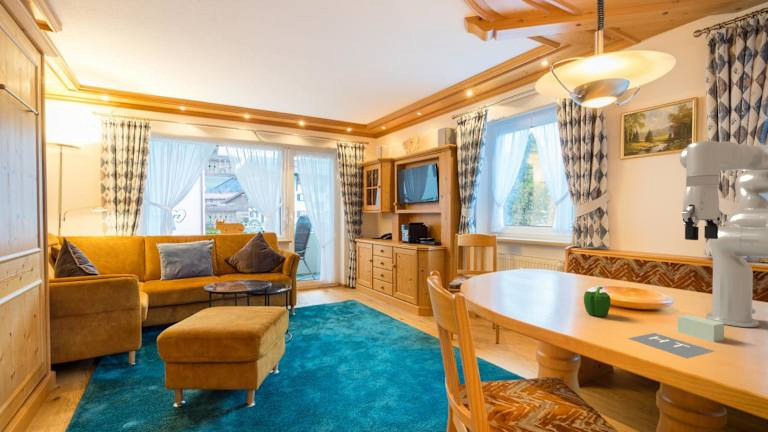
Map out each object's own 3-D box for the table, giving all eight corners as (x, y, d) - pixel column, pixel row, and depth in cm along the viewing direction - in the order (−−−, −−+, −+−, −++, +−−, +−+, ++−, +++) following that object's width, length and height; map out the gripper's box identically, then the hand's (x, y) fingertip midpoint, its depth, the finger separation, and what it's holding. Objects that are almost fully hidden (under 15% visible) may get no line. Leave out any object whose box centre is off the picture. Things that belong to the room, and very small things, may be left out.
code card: (654, 333, 109) (654, 332, 109) (715, 351, 95) (715, 351, 95) (627, 339, 105) (627, 338, 105) (686, 359, 91) (686, 358, 91)
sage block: (687, 330, 112) (688, 314, 112) (724, 340, 103) (724, 323, 103) (677, 332, 110) (677, 316, 110) (713, 342, 102) (713, 325, 101)
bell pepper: (596, 319, 123) (596, 290, 123) (578, 312, 131) (579, 285, 131) (617, 317, 124) (617, 289, 124) (598, 311, 132) (599, 284, 132)
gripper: (704, 184, 116) (703, 237, 116) (670, 183, 109) (669, 239, 110) (734, 182, 109) (733, 239, 109) (699, 181, 102) (698, 241, 103)
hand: (701, 239), depth 109 cm, fingers open, 9 cm apart
